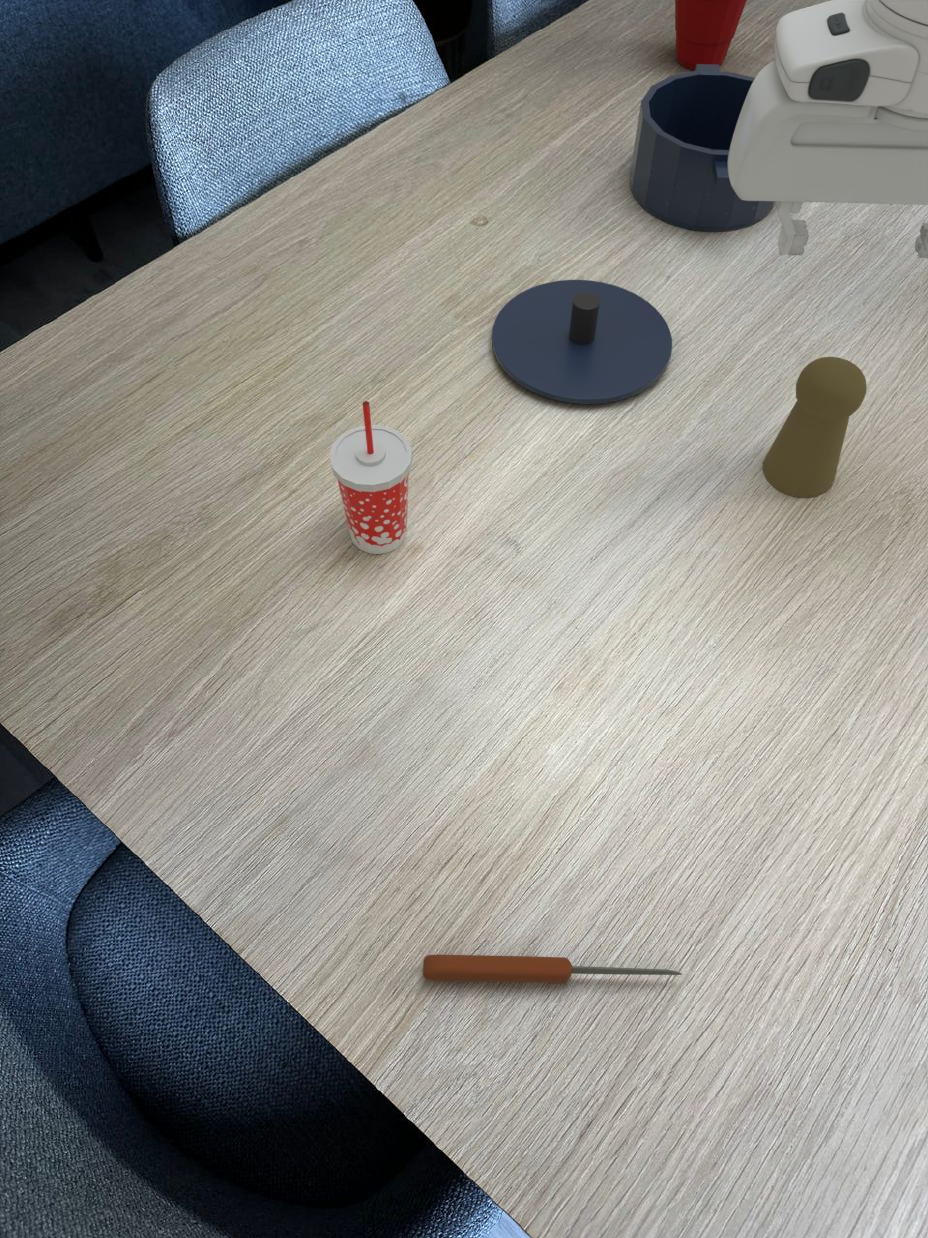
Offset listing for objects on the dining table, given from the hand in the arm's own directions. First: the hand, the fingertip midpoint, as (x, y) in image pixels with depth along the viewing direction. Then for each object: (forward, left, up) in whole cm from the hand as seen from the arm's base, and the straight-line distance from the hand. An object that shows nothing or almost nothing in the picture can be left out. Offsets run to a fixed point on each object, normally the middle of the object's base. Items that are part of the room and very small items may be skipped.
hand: (858, 251), depth 72 cm
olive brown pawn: (-1, +1, -21) cm, 21 cm away
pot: (+3, -40, -21) cm, 45 cm away
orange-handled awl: (+20, +44, -21) cm, 53 cm away
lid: (+17, -14, -20) cm, 29 cm away
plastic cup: (+1, -67, -21) cm, 70 cm away
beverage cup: (+34, +9, -21) cm, 41 cm away
